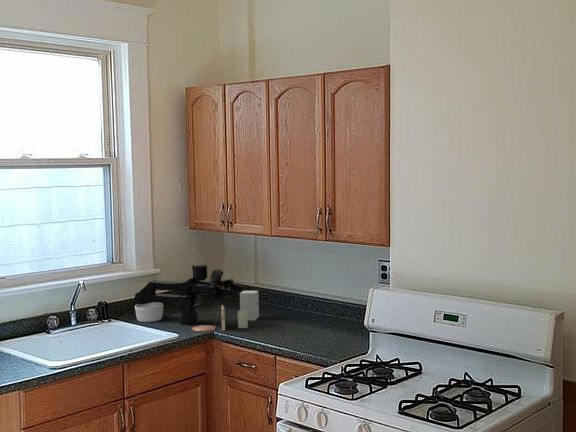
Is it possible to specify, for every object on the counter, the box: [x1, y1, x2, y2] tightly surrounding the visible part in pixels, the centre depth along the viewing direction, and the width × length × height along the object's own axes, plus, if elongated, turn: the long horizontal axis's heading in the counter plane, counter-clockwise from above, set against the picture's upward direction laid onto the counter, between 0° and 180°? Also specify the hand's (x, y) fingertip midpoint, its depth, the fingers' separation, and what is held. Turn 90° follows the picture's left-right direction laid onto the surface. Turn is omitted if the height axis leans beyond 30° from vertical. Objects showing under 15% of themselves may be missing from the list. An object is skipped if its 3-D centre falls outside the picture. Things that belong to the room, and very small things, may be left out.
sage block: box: [237, 309, 249, 329], centre depth 329 cm, size 4×4×7 cm
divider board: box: [220, 304, 226, 331], centre depth 328 cm, size 10×1×9 cm, turn 6°
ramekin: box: [134, 303, 164, 323], centre depth 348 cm, size 13×13×7 cm
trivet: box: [191, 324, 216, 332], centre depth 327 cm, size 10×10×1 cm
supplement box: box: [239, 290, 260, 321], centre depth 345 cm, size 7×7×13 cm
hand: (238, 290), depth 327 cm, fingers open, 9 cm apart
